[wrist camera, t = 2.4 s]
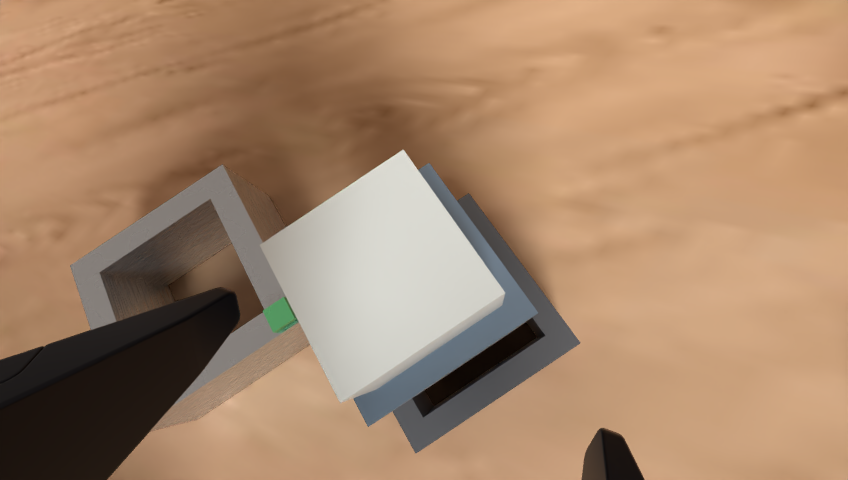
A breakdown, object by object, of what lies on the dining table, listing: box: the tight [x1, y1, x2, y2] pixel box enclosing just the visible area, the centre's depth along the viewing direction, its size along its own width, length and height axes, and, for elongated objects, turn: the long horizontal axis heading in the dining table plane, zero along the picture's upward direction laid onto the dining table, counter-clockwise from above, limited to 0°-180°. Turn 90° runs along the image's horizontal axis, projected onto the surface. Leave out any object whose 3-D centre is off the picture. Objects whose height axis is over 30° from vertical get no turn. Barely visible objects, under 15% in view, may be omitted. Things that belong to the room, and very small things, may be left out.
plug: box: [260, 150, 538, 427], centre depth 13 cm, size 4×4×13 cm
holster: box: [393, 193, 580, 453], centre depth 17 cm, size 7×7×3 cm
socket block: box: [70, 164, 310, 431], centre depth 19 cm, size 8×8×4 cm
